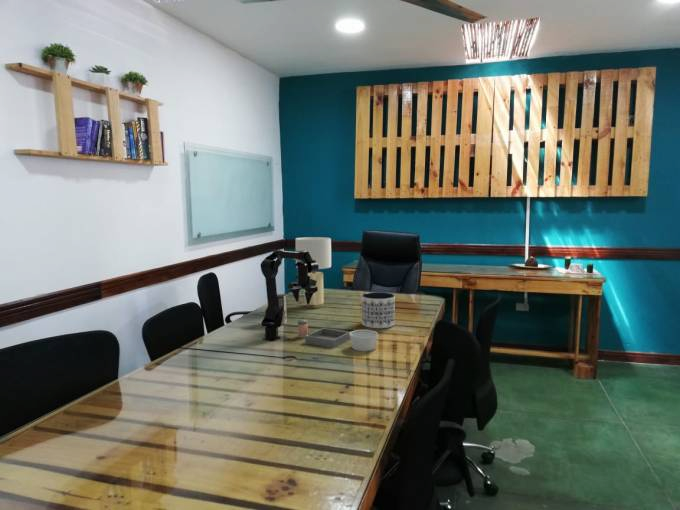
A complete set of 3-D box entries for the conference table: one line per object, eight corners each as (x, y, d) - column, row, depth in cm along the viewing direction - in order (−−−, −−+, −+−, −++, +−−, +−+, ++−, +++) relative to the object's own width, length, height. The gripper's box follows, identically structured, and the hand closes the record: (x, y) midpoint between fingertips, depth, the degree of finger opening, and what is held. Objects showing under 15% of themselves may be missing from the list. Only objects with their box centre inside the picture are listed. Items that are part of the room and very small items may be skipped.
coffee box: (287, 321, 268) (286, 293, 266) (284, 324, 261) (284, 296, 259) (271, 321, 268) (270, 293, 267) (268, 324, 262) (267, 296, 260)
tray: (333, 348, 219) (333, 340, 218) (305, 343, 227) (305, 335, 226) (350, 339, 232) (350, 332, 232) (323, 334, 240) (322, 328, 240)
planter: (394, 320, 268) (394, 292, 266) (394, 329, 250) (395, 298, 248) (362, 320, 270) (362, 292, 268) (360, 328, 252) (360, 298, 250)
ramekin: (375, 353, 211) (375, 338, 210) (347, 351, 214) (347, 336, 213) (379, 344, 224) (379, 330, 223) (352, 343, 227) (352, 329, 226)
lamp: (291, 304, 311) (290, 238, 306) (323, 301, 321) (322, 236, 316) (303, 311, 291) (302, 240, 286) (337, 308, 300) (336, 239, 295)
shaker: (304, 338, 234) (303, 322, 233) (295, 337, 236) (295, 321, 235) (309, 336, 238) (309, 320, 237) (301, 335, 240) (301, 318, 240)
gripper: (325, 274, 250) (325, 303, 251) (303, 271, 263) (303, 298, 265) (309, 276, 242) (309, 306, 244) (287, 272, 256) (287, 301, 257)
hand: (302, 302), depth 252 cm, fingers open, 9 cm apart
